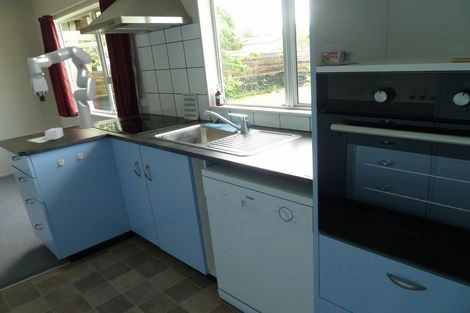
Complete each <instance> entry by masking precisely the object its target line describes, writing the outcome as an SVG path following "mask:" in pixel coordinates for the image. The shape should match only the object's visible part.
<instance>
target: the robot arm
mask: <svg viewBox="0 0 470 313" xmlns="http://www.w3.org/2000/svg"><path fill="white" fill-rule="evenodd" d="M69 59H71V62H72V63H73V65H74V67H75V68H76V87H77V88H78V89H75V91H74V92H73V95H72V96H73V97H72V98H73V99H74V102H75V105H76V109H77V113H78V117H79V119H78V120H79V123H80V126H79V127H78V128H79V129H84V130H85V129H92V128H95V127H96V124H98V123H99V121H98V120H96V121H94V120H93V117H92V112H91V107H90V104H89V102H90V101H91V102H92V101H93V100H94V99H95V97H96V90H97V82H96V79H95V77H93V76H92V75H89V69H88V67H87V65H89V64H91V63H92V61H93V59H92V56H91V54H89V52H86V51H85V50H83V49H82V48H80V47H78V46H74V45H73V46H65V47H63V48H60V49H57V50H54V51H51V52H47V53H44V54H41V55H38V56H35V57H28V58H27V59H26V62H27V66H28V67H27V68H28V70H29V74H30V78H29V83H30V89H31V92H32V94H33V95H37V96H38V97H39V100H40V102H41V103H43V102H46V94H47V93H49V86H48V82H47V81H46V78H45V77H44V76H45V75H46V74H45V73H43V70H42V69H45V68H49V67H51V66H52V65H53V64H58V63H63V62H64V61H67V60H69Z"/></svg>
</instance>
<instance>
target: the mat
mask: <svg viewBox="0 0 470 313" xmlns="http://www.w3.org/2000/svg"><path fill="white" fill-rule="evenodd" d="M61 138H62V137H60V138H59V139H61ZM53 140H55V139H53ZM26 141H27V142H31V143H36V144H41V143H45V142H49V141H51V140H46V136H45V135H44V136H40V137H35V138H32V139H27V140H26Z"/></svg>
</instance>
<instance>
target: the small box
mask: <svg viewBox="0 0 470 313" xmlns="http://www.w3.org/2000/svg"><path fill="white" fill-rule="evenodd" d="M44 136H46V140H50V141H52V140H53V139H54V140H59V139H61V138H62V137H63V136H64V131H63V127H53V128H49V129H47V130H45V131H44ZM60 137H61V138H60Z"/></svg>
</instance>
